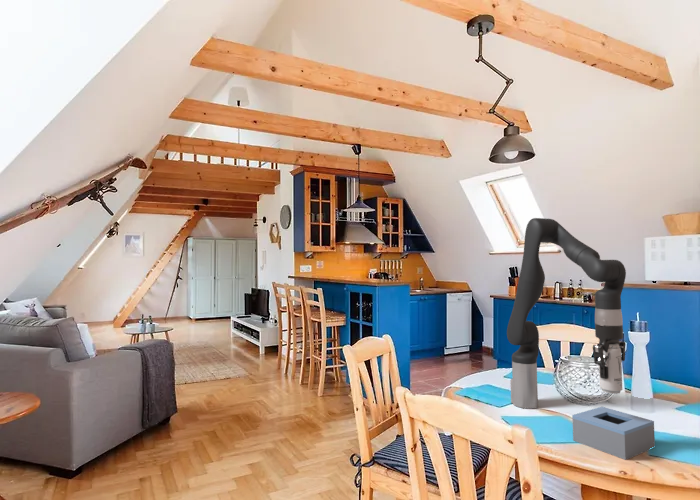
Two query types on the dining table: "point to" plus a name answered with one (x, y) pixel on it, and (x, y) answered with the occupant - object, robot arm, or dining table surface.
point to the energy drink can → (613, 371)
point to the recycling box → (613, 432)
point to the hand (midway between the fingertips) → (610, 376)
